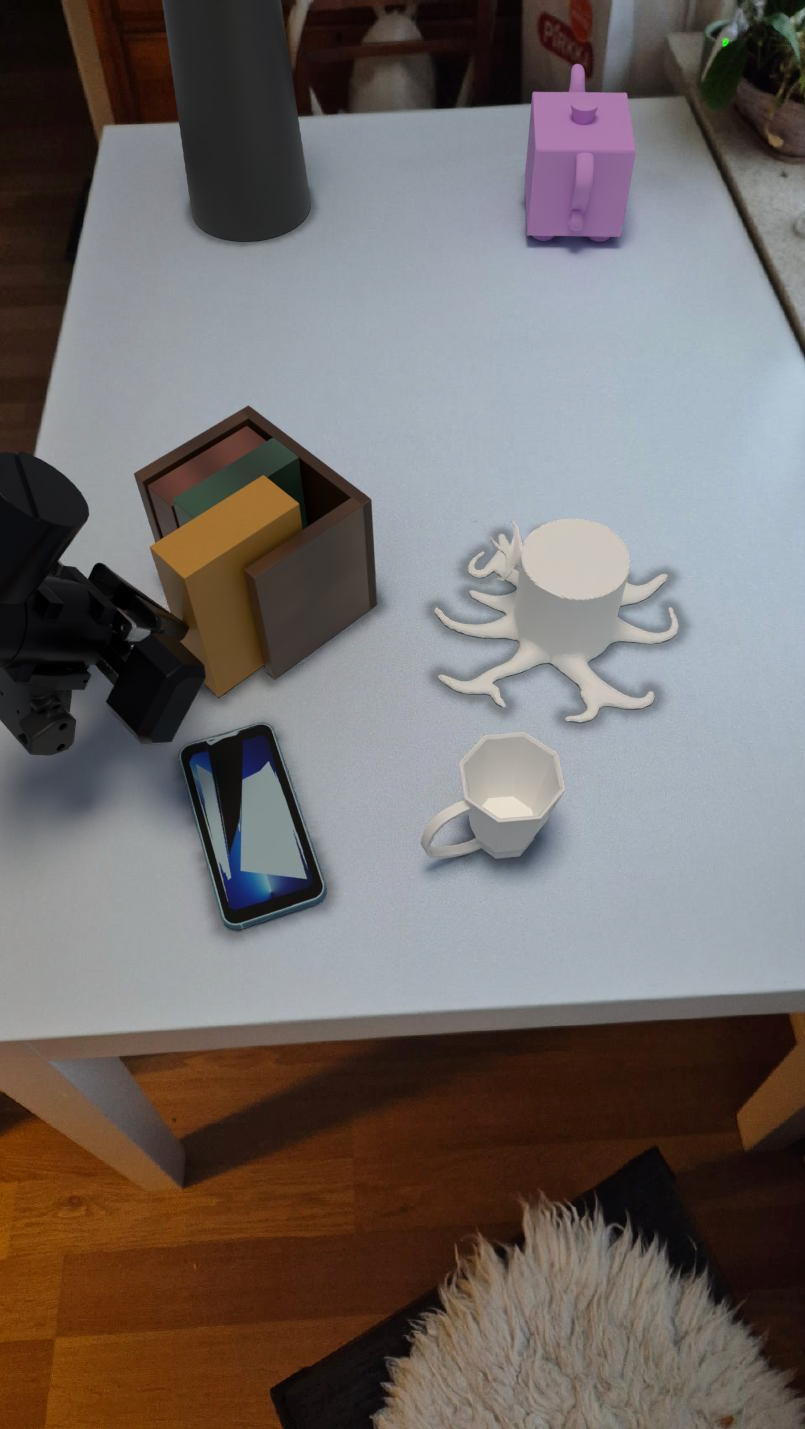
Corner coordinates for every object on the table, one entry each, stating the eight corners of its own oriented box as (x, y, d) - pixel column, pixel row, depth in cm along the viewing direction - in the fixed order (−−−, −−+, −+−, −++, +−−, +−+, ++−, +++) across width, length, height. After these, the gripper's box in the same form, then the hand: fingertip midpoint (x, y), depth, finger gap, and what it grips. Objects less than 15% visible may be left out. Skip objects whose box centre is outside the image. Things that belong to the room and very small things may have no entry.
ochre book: (218, 698, 78) (183, 578, 67) (188, 668, 80) (148, 546, 68) (316, 627, 82) (299, 503, 70) (285, 600, 84) (263, 474, 72)
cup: (572, 849, 71) (588, 794, 64) (448, 913, 68) (451, 862, 62) (519, 773, 74) (529, 713, 68) (399, 831, 72) (397, 775, 65)
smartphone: (224, 930, 67) (174, 747, 75) (226, 935, 68) (177, 753, 75) (330, 895, 68) (270, 718, 76) (331, 900, 69) (272, 725, 77)
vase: (208, 172, 120) (155, -131, 96) (320, 179, 119) (295, -126, 95) (178, 237, 113) (113, -73, 89) (297, 245, 112) (264, -67, 88)
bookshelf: (274, 679, 79) (251, 569, 68) (166, 579, 85) (129, 463, 74) (377, 604, 83) (371, 488, 72) (267, 513, 89) (246, 394, 78)
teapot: (620, 264, 109) (641, 145, 99) (526, 262, 109) (537, 144, 99) (607, 165, 120) (626, 49, 110) (522, 164, 120) (532, 48, 110)
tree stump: (521, 505, 89) (529, 433, 83) (722, 601, 83) (749, 533, 76) (389, 654, 80) (386, 587, 74) (602, 774, 74) (621, 714, 67)
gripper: (-121, 640, 67) (70, 647, 80) (29, 823, 59) (213, 797, 72) (-63, 494, 63) (127, 526, 76) (105, 668, 55) (285, 671, 68)
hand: (183, 630), depth 73 cm, fingers closed, pressing on ochre book
